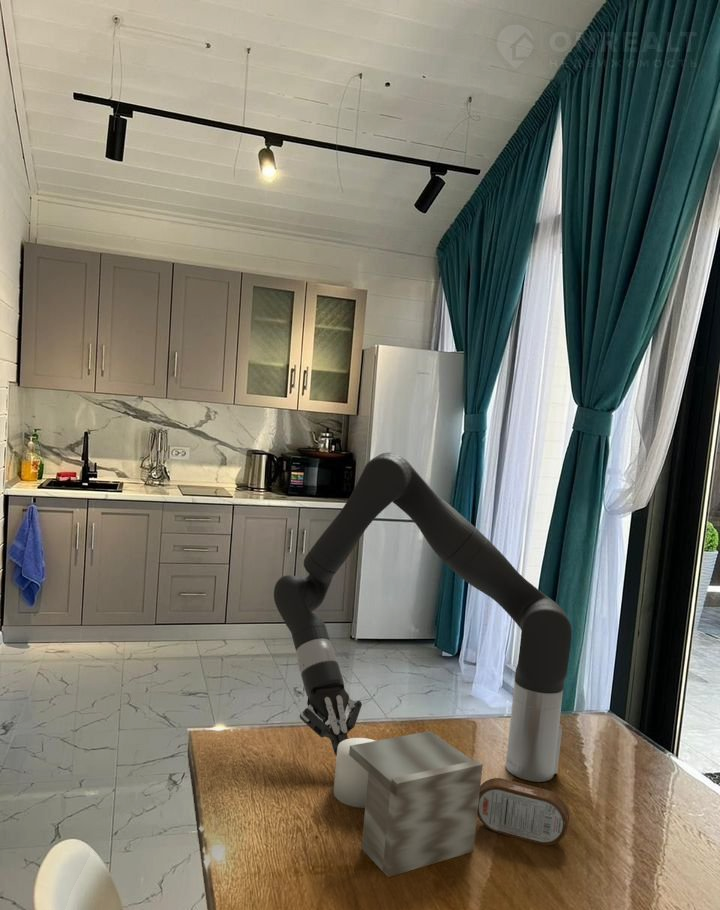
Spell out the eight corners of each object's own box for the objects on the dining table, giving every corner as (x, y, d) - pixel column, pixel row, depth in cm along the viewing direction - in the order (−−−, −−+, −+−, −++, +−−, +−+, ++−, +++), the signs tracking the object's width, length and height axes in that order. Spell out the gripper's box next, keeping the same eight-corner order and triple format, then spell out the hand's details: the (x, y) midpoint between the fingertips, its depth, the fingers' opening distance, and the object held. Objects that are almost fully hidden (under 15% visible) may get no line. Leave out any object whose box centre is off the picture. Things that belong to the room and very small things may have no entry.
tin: (566, 843, 118) (572, 793, 118) (565, 854, 115) (571, 803, 115) (474, 819, 123) (479, 770, 123) (471, 828, 120) (476, 779, 120)
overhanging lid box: (422, 807, 125) (430, 728, 124) (473, 851, 114) (482, 764, 113) (341, 827, 117) (350, 742, 116) (387, 877, 105) (397, 783, 104)
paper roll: (367, 776, 134) (371, 734, 133) (394, 801, 126) (398, 756, 126) (324, 786, 129) (328, 742, 129) (349, 812, 122) (354, 765, 121)
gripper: (295, 662, 137) (320, 755, 127) (356, 655, 143) (384, 743, 134) (281, 680, 141) (304, 770, 132) (340, 672, 148) (366, 758, 139)
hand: (344, 756), depth 133 cm, fingers closed
